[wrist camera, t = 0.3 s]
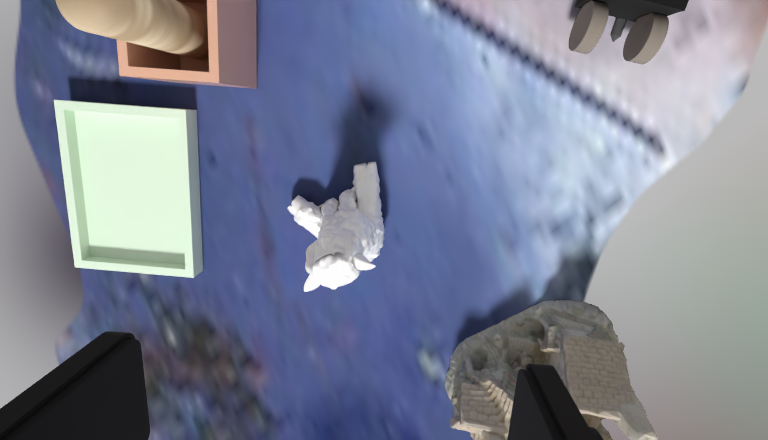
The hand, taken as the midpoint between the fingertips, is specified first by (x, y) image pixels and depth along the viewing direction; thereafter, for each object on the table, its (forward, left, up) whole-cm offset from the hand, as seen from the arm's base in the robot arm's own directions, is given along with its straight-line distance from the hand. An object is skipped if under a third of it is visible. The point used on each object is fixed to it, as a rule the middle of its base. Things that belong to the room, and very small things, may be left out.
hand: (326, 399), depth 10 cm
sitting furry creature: (+3, -3, -31) cm, 31 cm away
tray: (+2, -24, -31) cm, 39 cm away
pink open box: (-12, -16, -31) cm, 36 cm away
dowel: (-12, -16, -30) cm, 36 cm away
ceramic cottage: (+18, +16, -31) cm, 39 cm away
